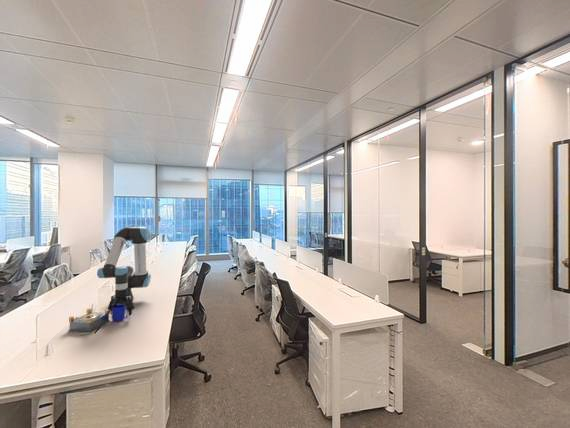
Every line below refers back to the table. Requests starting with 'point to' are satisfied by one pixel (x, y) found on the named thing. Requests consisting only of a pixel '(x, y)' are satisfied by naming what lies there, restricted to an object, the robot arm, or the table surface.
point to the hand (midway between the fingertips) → (121, 319)
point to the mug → (119, 312)
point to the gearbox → (89, 321)
